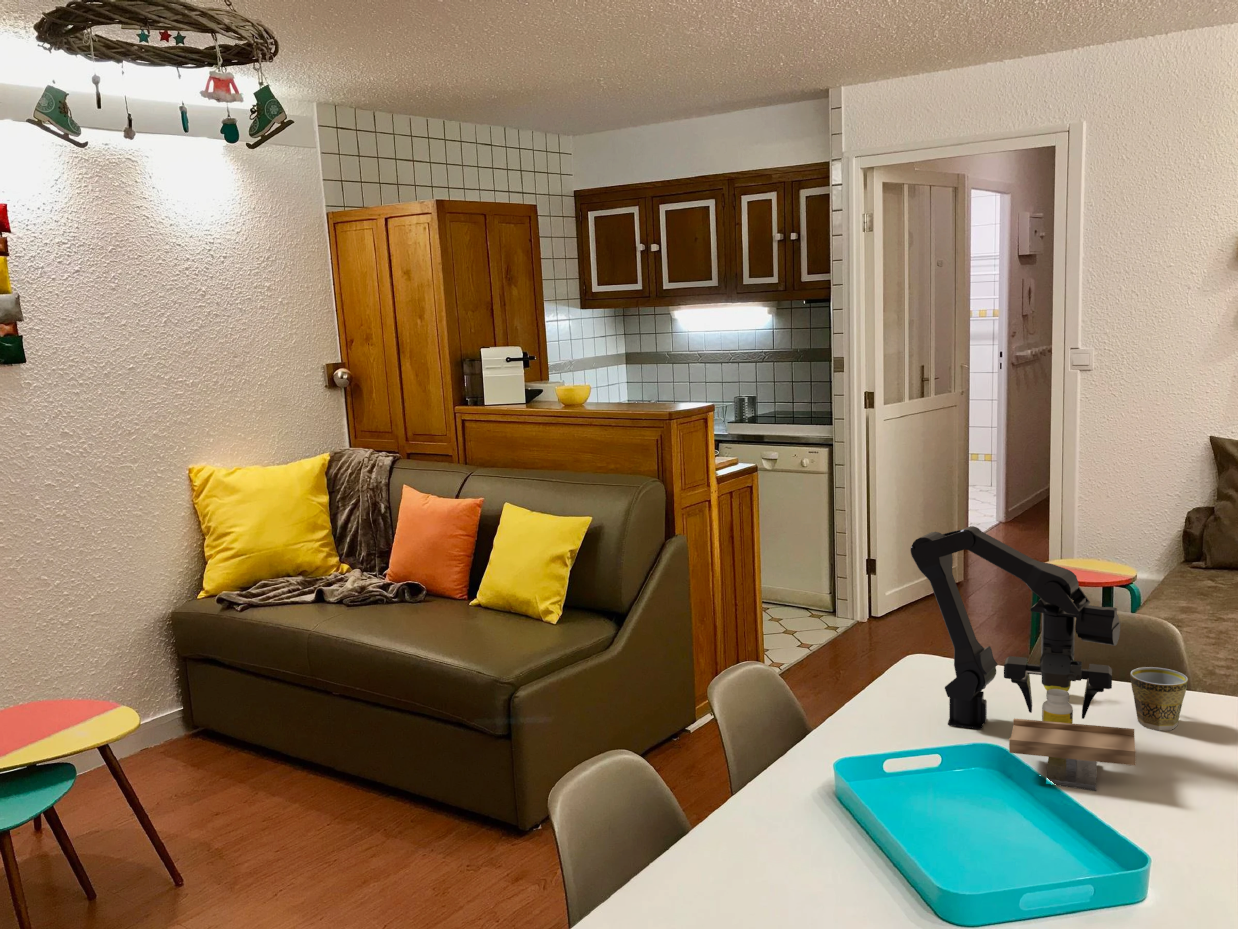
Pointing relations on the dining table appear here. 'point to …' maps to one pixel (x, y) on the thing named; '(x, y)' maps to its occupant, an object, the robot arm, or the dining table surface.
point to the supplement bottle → (1057, 707)
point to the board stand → (1072, 773)
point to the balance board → (1073, 741)
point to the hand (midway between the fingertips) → (1056, 715)
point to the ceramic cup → (1158, 696)
